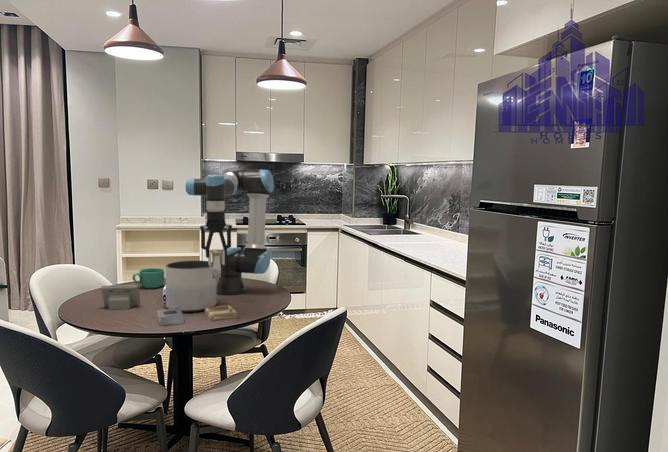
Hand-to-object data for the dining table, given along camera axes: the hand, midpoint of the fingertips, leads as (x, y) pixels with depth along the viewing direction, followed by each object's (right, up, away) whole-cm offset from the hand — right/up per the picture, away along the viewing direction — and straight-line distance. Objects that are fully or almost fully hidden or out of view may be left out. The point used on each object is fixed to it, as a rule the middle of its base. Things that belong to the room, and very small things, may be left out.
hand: (216, 264), depth 209 cm
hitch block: (-18, -23, -7) cm, 30 cm away
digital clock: (-47, -21, +14) cm, 53 cm away
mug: (-50, -17, +54) cm, 76 cm away
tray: (+1, -22, +3) cm, 22 cm away
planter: (-15, -21, +16) cm, 31 cm away
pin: (0, -6, +1) cm, 6 cm away
